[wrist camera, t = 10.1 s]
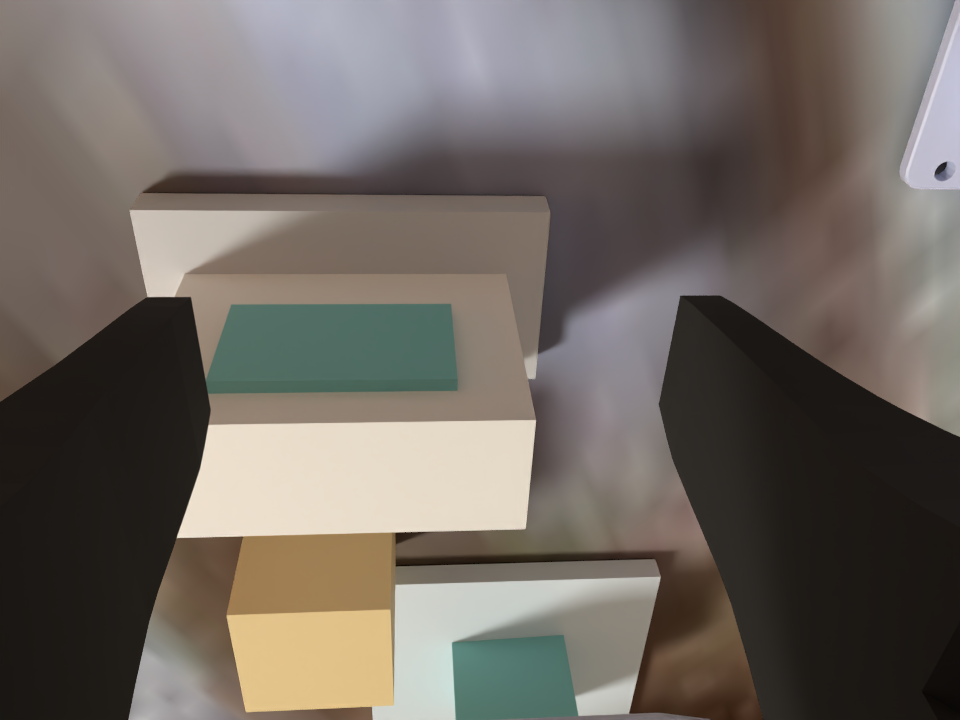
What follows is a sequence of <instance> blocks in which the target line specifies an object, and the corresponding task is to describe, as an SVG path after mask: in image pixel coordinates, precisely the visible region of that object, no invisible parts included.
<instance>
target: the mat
mask: <svg viewBox="0 0 960 720" xmlns="http://www.w3.org/2000/svg"><path fill="white" fill-rule="evenodd" d="M660 578H661V576H660V573H659V569H658V566H657V563H656V560H655V559H641V560H606V561H571V562H536V563H501V564H465V565H430V566H396V568H395V652H394V706H372V713H373V720H455V700H454V679H453V658H452V642H466V641H480V640H495V639H509V638H524V637H539V636H553V635H564V640H565V645H566V651H567V656H568V662H569V667H570V672H571V678H572V683H573V689H574V694H575V699H576V705H577V710H578V715H579V716H592V715H615V714H629V711H630V707H631V703H632V699H633V694H634V690H635V686H636V681H637V677H638V673H639V669H640V664H641V660H642V656H643V651H644V647H645V643H646V639H647V634H648V630H649V626H650V621H651V617H652V613H653V609H654V604H655V600H656V596H657V591H658V587H659V583H660Z"/></svg>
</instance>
